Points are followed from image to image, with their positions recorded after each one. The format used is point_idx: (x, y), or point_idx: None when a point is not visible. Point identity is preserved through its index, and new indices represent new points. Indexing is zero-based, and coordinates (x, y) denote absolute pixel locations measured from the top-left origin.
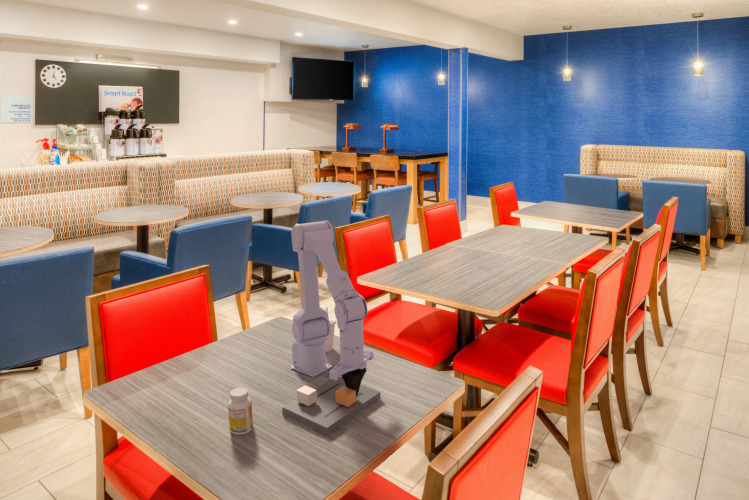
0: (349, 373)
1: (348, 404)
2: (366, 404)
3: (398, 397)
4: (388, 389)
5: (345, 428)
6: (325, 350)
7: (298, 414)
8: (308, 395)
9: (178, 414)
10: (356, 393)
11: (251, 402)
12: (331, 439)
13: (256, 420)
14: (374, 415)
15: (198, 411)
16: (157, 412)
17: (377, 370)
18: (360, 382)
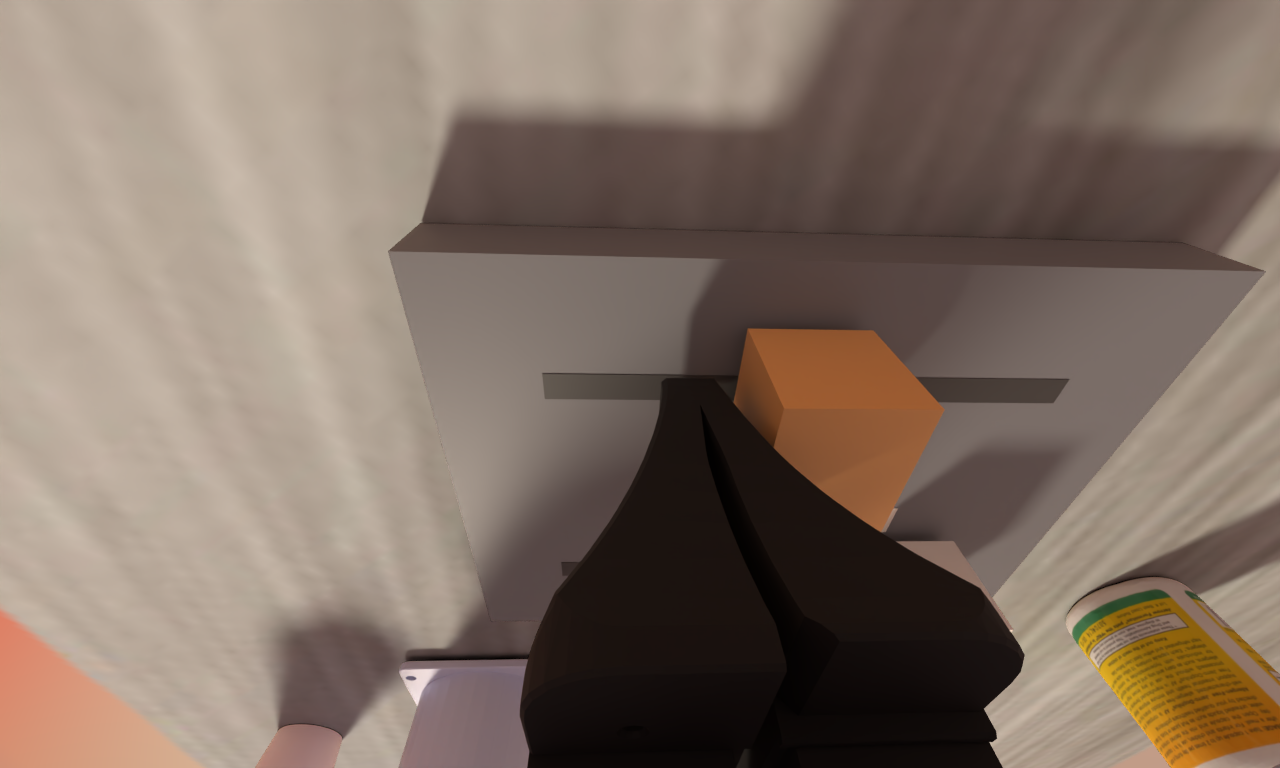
0: (959, 740)
1: (878, 343)
2: (652, 244)
3: (212, 59)
4: (225, 269)
5: (1042, 180)
6: (327, 738)
7: (1051, 526)
8: (1006, 623)
9: (1036, 738)
10: (707, 392)
11: (1251, 752)
12: (1248, 173)
13: (1033, 606)
14: (715, 66)
15: (1005, 723)
16: (1035, 762)
17: (145, 503)
18: (663, 467)
